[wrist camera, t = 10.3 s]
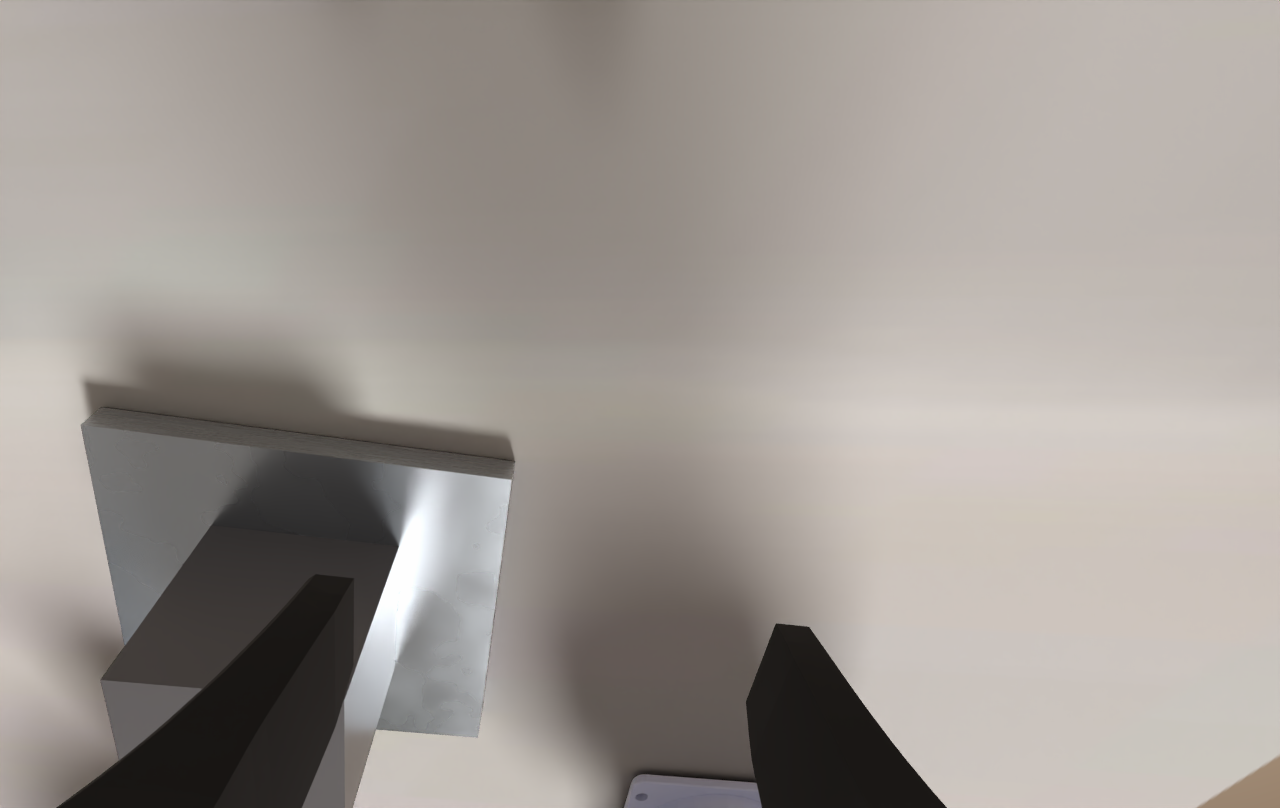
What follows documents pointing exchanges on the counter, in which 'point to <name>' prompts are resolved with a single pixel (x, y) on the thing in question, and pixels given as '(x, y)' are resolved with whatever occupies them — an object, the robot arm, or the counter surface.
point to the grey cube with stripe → (234, 615)
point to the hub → (318, 533)
